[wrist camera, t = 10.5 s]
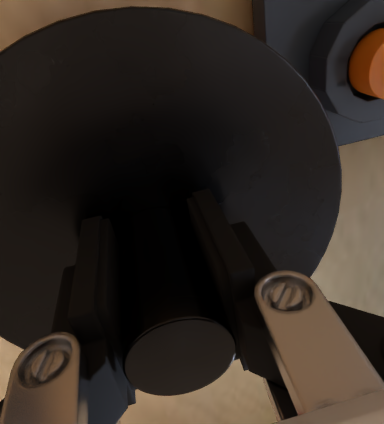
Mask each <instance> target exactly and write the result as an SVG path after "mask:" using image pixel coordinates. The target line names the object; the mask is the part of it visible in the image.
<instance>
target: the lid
mask: <svg viewBox="0 0 384 424" xmlns="http://www.w3.org/2000/svg"><path fill="white" fill-rule="evenodd" d="M205 189H210V191H211V192H212V194H213V196H214V198H215V199H216V201H217V203H218V205H219V207H220V208H221V210H222V212H223V214H224V215H225V217H226V219H227V221H228V222H229V224H234V223H238V222H242V221H244V222H245V223H246V224H247V225H248V227H249V228H250V230H251V231H252V233H253V234H254V236H255V237H256V239H257V240H258V242H259V244H260V245H261V247H262V248H263V250H264V251H265V253H266V254H267V256H268V257H269V259H270V260H271V262H272V263H273V265H274V267H275V268H276V270H277V271H282V270H287V271H295V272H298V273H302V274H304V275H306V276H307V277H309V278H310V277H311V275H312V274H313V273H314V271H315V270H316V268H317V266H318V264H319V263H320V261H321V259H322V257H323V255H324V253H325V252H326V249H327V247H328V244H329V242H330V239H331V237H332V234H333V231H334V228H335V224H336V220H337V217H338V213H339V206H340V199H341V192H342V170H341V163H340V156H339V149H338V145H337V141H336V138H335V135H334V131H333V128H332V125H331V122H330V120H329V118H328V116H327V114H326V112H325V110H324V108H323V105H322V103H321V101H320V100H319V98H318V97H317V95H316V94H315V92H314V91H313V90H312V88H311V87H310V85H309V84H308V82H307V81H306V79H305V78H304V77H303V76H302V75H301V74H300V73H299V72H298V71H297V70H296V69H295V68H294V67H293V66H292V65H291V64H290V63H289V61H288V60H287V59H286V58H284V57H283V56H282V55H280V54H279V53H278V52H276V51H275V50H274V49H272V48H271V47H270V46H269V45H267V44H266V43H265V42H263V41H262V40H260V39H258V38H256V37H255V36H253V35H251V34H249V33H247V32H245V31H243V30H242V29H240V28H238V27H236V26H234V25H231V24H229V23H226V22H223V21H220V20H217V19H215V18H212V17H209V16H206V15H203V14H199V13H193V12H188V11H183V10H178V9H172V8H164V7H136V6H130V7H121V8H113V9H104V10H96V11H91V12H88V13H84V14H80V15H77V16H73V17H70V18H66V19H62V20H59V21H56V22H54V23H52V24H50V25H47V26H45V27H43V28H41V29H39V30H36V31H34V32H32V33H30V34H28V35H25V36H23V37H22V38H20V39H19V40H17V41H16V42H14V43H13V44H11V45H10V46H8V47H7V48H5V49H4V50H2V51H1V52H0V336H1V337H2V338H4V339H5V340H7V341H9V342H11V343H13V344H15V345H16V346H18V347H20V348H22V349H25V348H26V347H27V346H29V345H30V344H31V343H32V342H34V341H35V340H37V339H38V338H40V337H43V336H45V335H47V334H50V333H51V330H52V325H53V320H54V315H55V309H56V304H57V299H58V294H59V289H60V284H61V279H62V274H63V270H64V268H66V267H69V266H73V265H75V263H76V257H77V250H78V244H79V237H80V230H81V224H82V220H84V219H88V218H92V217H96V216H100V215H101V216H102V218H103V219H107V218H109V220H110V222H111V224H112V227H113V230H114V233H115V236H116V239H117V241H118V244H119V263H120V298H121V332H122V366H123V371H124V374H125V376H126V378H127V380H128V381H129V382H130V383H131V384H132V385H133V386H134V387H135V388H137V389H139V390H140V391H143V392H145V393H149V394H153V395H161V396H172V395H180V394H185V393H189V392H193V391H195V390H198V389H201V388H203V387H205V386H207V385H209V384H210V383H212V382H214V381H215V380H216V379H218V378H219V377H220V376H221V375H222V374H223V373H225V371H226V370H227V369H228V368H229V366H230V365H231V363H232V362H233V359H234V357H235V354H236V340H235V337H234V334H233V331H232V329H231V326H230V324H229V321H228V319H227V317H226V314H225V312H224V309H223V306H222V304H221V301H220V299H219V296H218V293H217V291H216V288H215V286H214V283H213V280H212V278H211V275H210V272H209V270H208V267H207V265H206V262H205V259H204V257H203V254H202V251H201V249H200V246H199V244H198V241H197V238H196V236H195V233H194V231H193V228H192V224H191V219H190V214H189V209H188V204H187V198H191V197H192V192H196V191H201V190H205Z"/></svg>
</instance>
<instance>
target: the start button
mask: <svg viewBox="0 0 384 424" xmlns="http://www.w3.org/2000/svg"><path fill="white" fill-rule="evenodd" d="M348 77H349V80H350V83H351V85H352V86H353V87H354V89H355V90H357V91H358V92H360V93H363V94H367V95H370V96H374V97H377V98H380V99H384V28H379V29H376V30H374V31H372V32H370V33H368V34H367V35H366V36H364V37H363V38H362V39H361V40H360V42H359V43H358V44H357V45H356V47H355V49H354V50H353V52H352V54H351V57H350V60H349V65H348Z"/></svg>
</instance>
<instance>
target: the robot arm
mask: <svg viewBox="0 0 384 424" xmlns="http://www.w3.org/2000/svg"><path fill="white" fill-rule="evenodd" d="M187 204H188V209H189V214H190V219H191V224H192V228H193V231H194V233H195V236H196V238H197V241H198V244H199V246H200V249H201V251H202V254H203V257H204V259H205V262H206V265H207V267H208V270H209V272H210V275H211V278H212V280H213V283H214V286H215V288H216V291H217V293H218V296H219V299H220V301H221V304H222V306H223V309H224V312H225V314H226V317H227V319H228V321H229V324H230V326H231V329H232V331H233V334H234V337H235V340H236V354H235V357H234V359H233V360H236V359H240V361H241V364H242V366H243V369H244V371H245V370H248V369H249V371H250V372H252V373H254V374H257V375H259V376H261V377H263V381H264V385H265V388H266V390H267V393H268V396H269V399H270V401H271V404H272V407H273V410H274V412H275V415H276V418H277V421H278V422H276V423H273V424H384V317H381V316H378V315H374V314H371V313H368V312H364V311H361V310H358V309H354V308H351V307H348V306H344V305H341V304H337V303H334V302H331V301H328V300H327V299H326V297H325V296H324V294H323V293H322V292H321V290H320V289H319V287H318V286H317V284H316V283H315V282H314V281H313V280H312V279H311V278H309V277H307V276H306V275H304V274H302V273H298V272H295V271H287V270H282V271H277V270H276V268H275V267H274V265H273V263H272V262H271V260H270V259H269V257H268V256H267V254H266V253H265V251H264V250H263V248H262V247H261V245H260V244H259V242H258V240H257V239H256V237H255V236H254V234H253V233H252V231H251V230H250V228H249V227H248V225H247V224H246V223H245V222H244V221H242V222H238V223H234V224H229V222H228V221H227V219H226V217H225V215H224V214H223V212H222V210H221V208H220V207H219V205H218V203H217V201H216V199H215V198H214V196H213V194H212V192H211V191H210V189H205V190H201V191H196V192H192V197H191V198H187ZM135 389H137V388H135V387H134V386H133V385H132V384H131V383H130V382H129V381H128V380H127V378H126V376H125V374H124V371H123V366H122V332H121V298H120V263H119V244H118V241H117V239H116V236H115V233H114V230H113V227H112V224H111V222H110V220H109V218H107V219H103V218H102V216H101V215H100V216H96V217H92V218H88V219H84V220H82V224H81V230H80V237H79V244H78V250H77V257H76V263H75V265H73V266H69V267H66V268H64V270H63V274H62V279H61V284H60V289H59V294H58V299H57V304H56V309H55V315H54V320H53V325H52V330H51V333H50V334H47V335H45V336H43V337H40V338H38V339H37V340H35V341H34V342H32V343H31V344H30V345H29V346H27V347H26V348H25V349H24V350H23V351H22V352H21V354H20V355H19V356H18V358H17V359H16V361H15V363H14V365H13V368H12V370H11V374H10V378H9V382H8V386H7V391H6V395H5V398H4V399H3V400H2V401H1V402H0V424H120V417H121V416H122V415H123V413H124V412H125V411H126V409H127V408H128V405H132V404H135V403H136V399H135Z"/></svg>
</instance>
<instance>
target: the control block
mask: <svg viewBox="0 0 384 424" xmlns="http://www.w3.org/2000/svg"><path fill="white" fill-rule="evenodd" d="M252 6H253V21H254V36H255V37H256V38H258V39H260V40H262V41H263V42H265V43H266V44H267V45H269V46H270V47H271V48H272V49H274V50H275V51H276V52H278V53H279V54H280V55H282V56H283V57H284V58H286V59H287V60H288V61H289V63H290V64H291V65H292V66H293V67H294V68H295V69H296V70H297V71H298V72H299V73H300V74H301V75H302V76H303V77H304V78H305V79H306V81H307V82H308V84H309V85H310V87H311V88H312V90H313V91H314V92H315V94H316V95H317V97H318V98H319V100H320V101H321V103H322V105H323V108H324V110H325V112H326V114H327V116H328V118H329V120H330V122H331V125H332V128H333V131H334V135H335V138H336V141H337V145H338V146H342V145H346V144H350V143H354V142H358V141H362V140H366V139H370V138H374V137H378V136H382V135H384V99H380V98H377V97H374V96H370V95H367V94H363V93H360V92H358V91H357V90H355V89H354V87H353V86H352V85H351V83H350V80H349V77H348V65H349V60H350V57H351V54H352V52H353V50H354V49H355V47H356V45H357V44H358V43H359V42H360V40H361V39H362V38H363V37H364V36H366V35H367V34H368V33H370V32H372V31H374V30H376V29H379V28H384V0H252Z"/></svg>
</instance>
